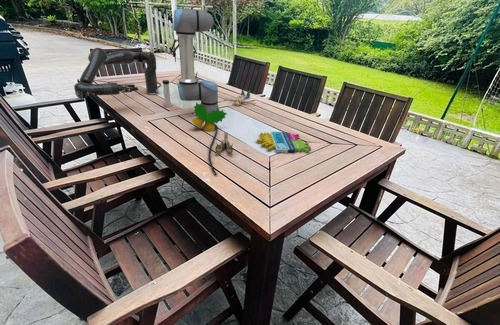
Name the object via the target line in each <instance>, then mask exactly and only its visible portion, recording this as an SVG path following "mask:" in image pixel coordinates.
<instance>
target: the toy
mask: <svg viewBox="0 0 500 325" xmlns="http://www.w3.org/2000/svg"><path fill="white" fill-rule="evenodd" d="M240 92H241V93H240V95H238V96H237V97H235V99H233V98H230V99H228V98H227V97H226V96H225V97H224V98H223V101H224V102H233V103H232V104H233V105H235V106H242V103H243V104H247V105H252V106H255V105H256V104H257V103H256V102H254V101H253V100H252V101H251V102H250V101H248V100H246V99H248V98H250V97H251V90H250V89H249V90H248V91H247V92H246V93H245V91H244V89H242V90H241V91H240Z"/></svg>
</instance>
